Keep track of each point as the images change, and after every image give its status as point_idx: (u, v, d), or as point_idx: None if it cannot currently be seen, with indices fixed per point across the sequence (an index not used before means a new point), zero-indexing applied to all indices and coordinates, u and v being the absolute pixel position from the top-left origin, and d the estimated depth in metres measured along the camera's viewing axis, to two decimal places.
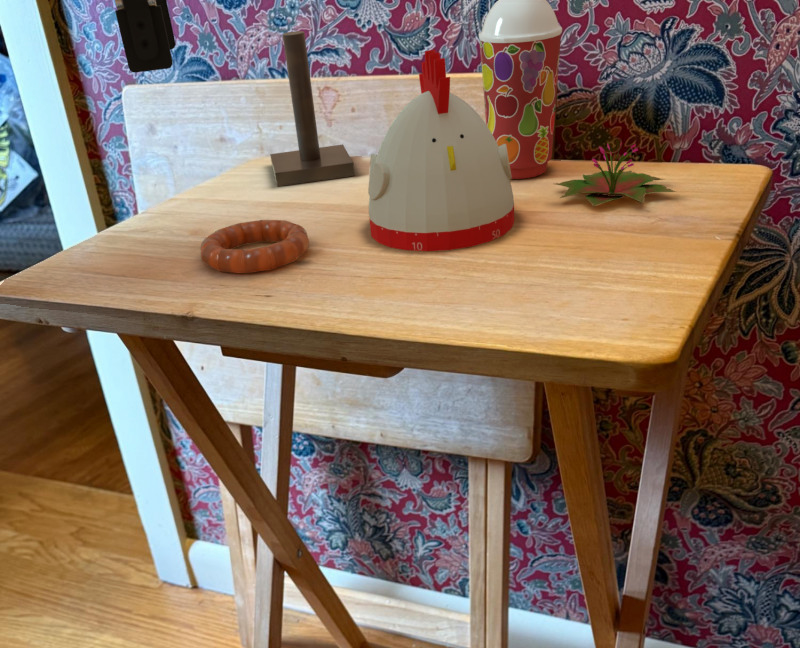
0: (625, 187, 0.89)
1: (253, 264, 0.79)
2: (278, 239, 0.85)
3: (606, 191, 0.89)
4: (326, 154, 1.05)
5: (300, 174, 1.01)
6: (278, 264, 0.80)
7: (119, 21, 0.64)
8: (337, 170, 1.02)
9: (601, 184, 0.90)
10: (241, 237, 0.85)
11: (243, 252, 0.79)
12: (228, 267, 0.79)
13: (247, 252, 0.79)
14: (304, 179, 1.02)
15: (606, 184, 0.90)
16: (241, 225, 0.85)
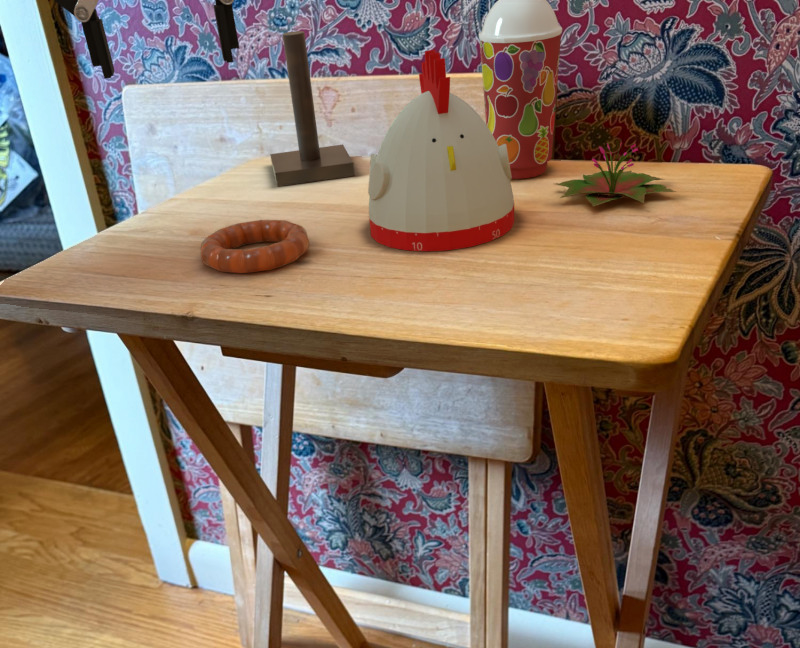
0: (625, 187, 0.89)
1: (253, 264, 0.79)
2: (278, 239, 0.85)
3: (606, 191, 0.89)
4: (326, 154, 1.05)
5: (300, 174, 1.01)
6: (278, 264, 0.80)
7: None
8: (337, 170, 1.02)
9: (601, 184, 0.90)
10: (241, 237, 0.85)
11: (243, 252, 0.79)
12: (228, 267, 0.79)
13: (247, 252, 0.79)
14: (304, 179, 1.02)
15: (606, 184, 0.90)
16: (241, 225, 0.85)
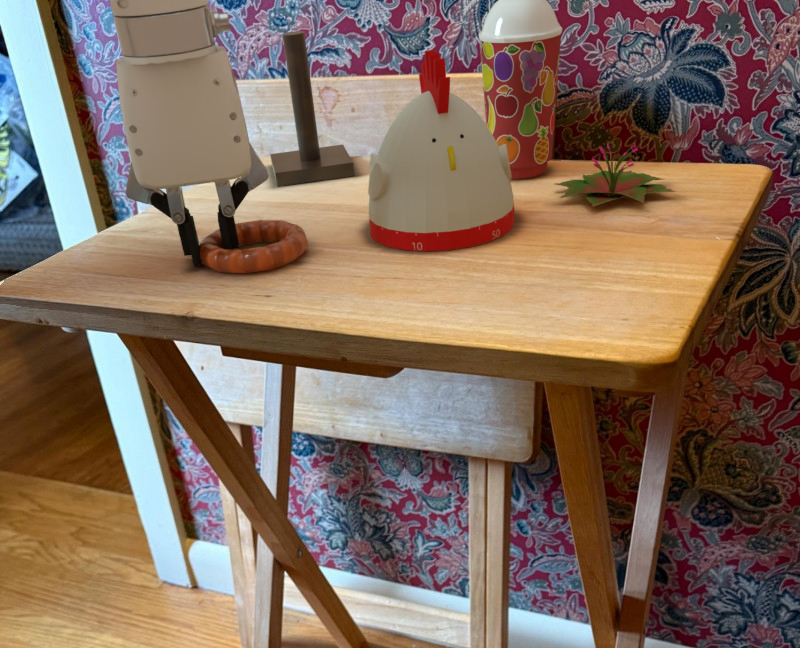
0: (625, 187, 0.89)
1: (251, 264, 0.79)
2: (277, 239, 0.85)
3: (606, 191, 0.89)
4: (326, 154, 1.05)
5: (300, 174, 1.01)
6: (276, 264, 0.80)
7: None
8: (337, 170, 1.02)
9: (601, 184, 0.90)
10: (239, 237, 0.85)
11: (241, 252, 0.79)
12: (226, 267, 0.79)
13: (245, 252, 0.79)
14: (304, 179, 1.02)
15: (606, 184, 0.90)
16: (240, 225, 0.85)
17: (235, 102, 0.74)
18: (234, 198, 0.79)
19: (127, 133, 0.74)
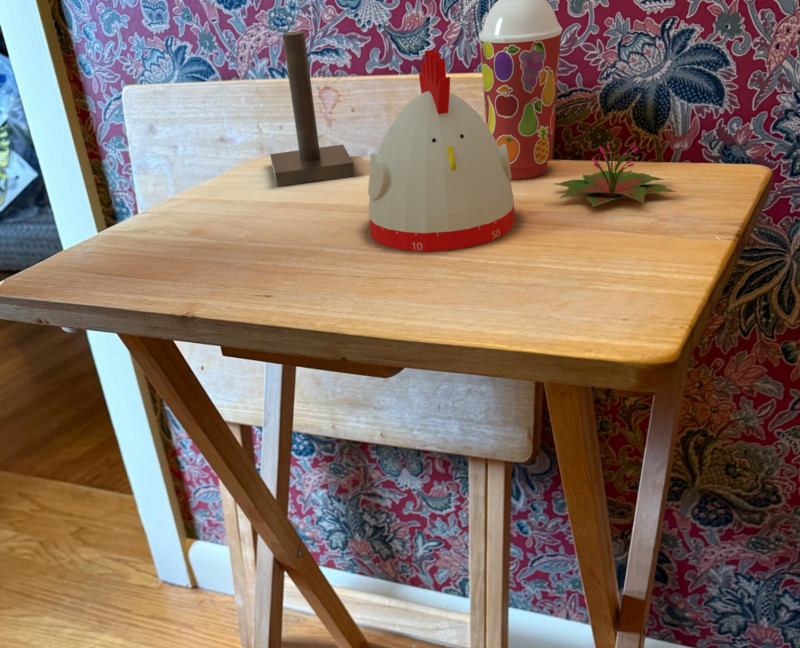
0: (625, 187, 0.89)
1: None
2: None
3: (606, 191, 0.89)
4: (326, 154, 1.05)
5: (300, 174, 1.01)
6: None
7: None
8: (337, 170, 1.02)
9: (601, 184, 0.90)
10: None
11: None
12: None
13: None
14: (304, 179, 1.02)
15: (606, 184, 0.90)
16: None
17: None
18: None
19: None
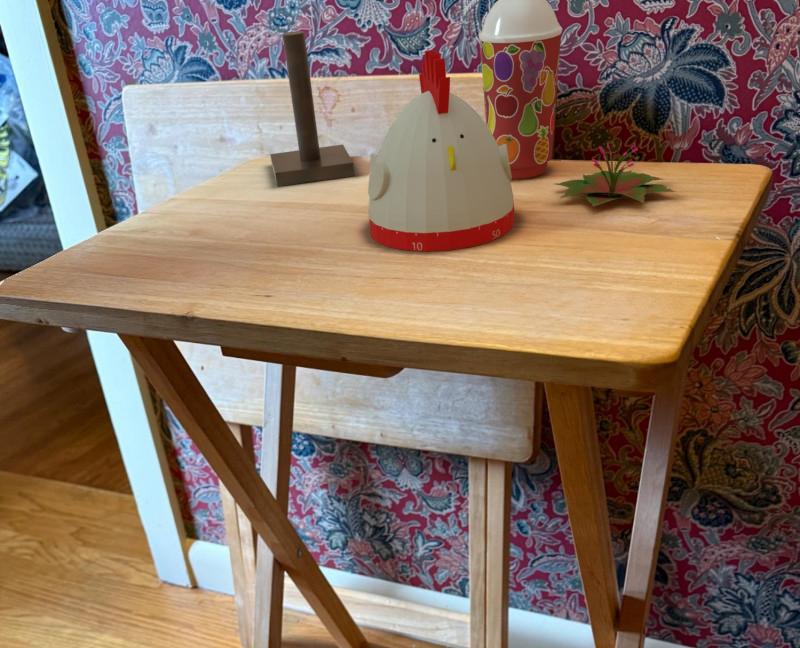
0: (625, 187, 0.89)
1: None
2: None
3: (606, 191, 0.89)
4: (326, 154, 1.05)
5: (300, 174, 1.01)
6: None
7: None
8: (337, 170, 1.02)
9: (601, 184, 0.90)
10: None
11: None
12: None
13: None
14: (304, 179, 1.02)
15: (606, 184, 0.90)
16: None
17: None
18: None
19: None
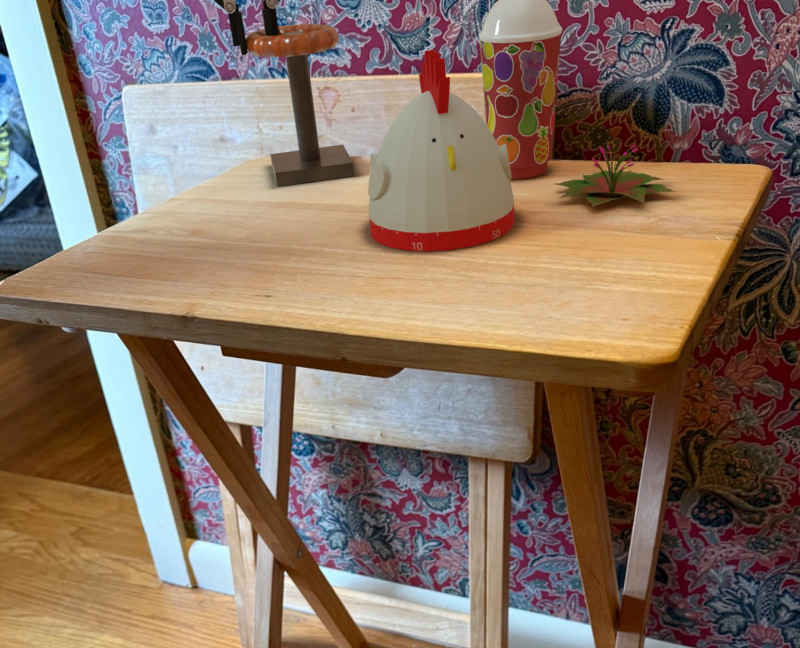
0: (625, 187, 0.89)
1: (292, 47, 0.93)
2: None
3: (606, 191, 0.89)
4: (326, 154, 1.05)
5: (300, 174, 1.01)
6: (313, 49, 0.94)
7: None
8: (337, 170, 1.02)
9: (601, 184, 0.90)
10: None
11: (284, 36, 0.93)
12: (271, 50, 0.94)
13: (287, 36, 0.93)
14: (304, 179, 1.02)
15: (606, 184, 0.90)
16: (279, 27, 0.99)
17: None
18: None
19: None
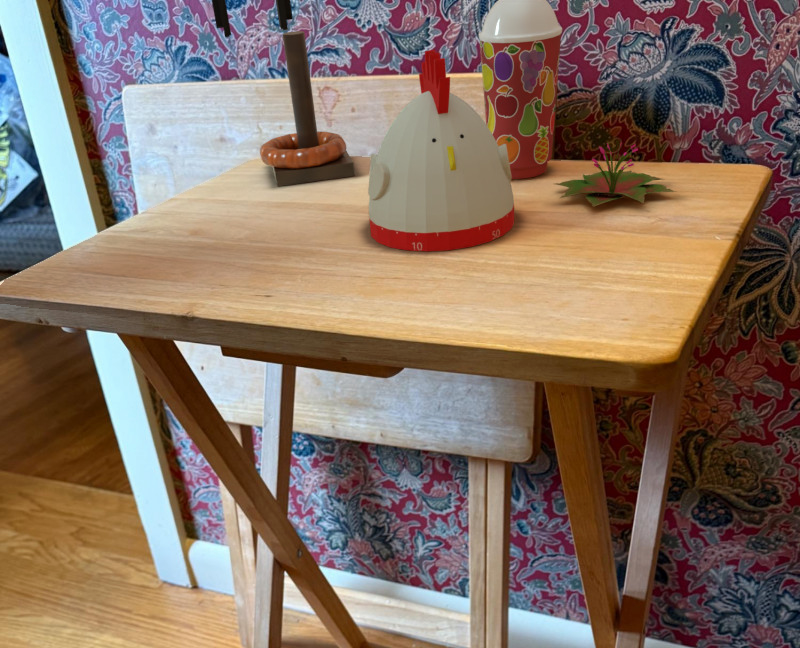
0: (625, 187, 0.89)
1: (304, 160, 1.00)
2: None
3: (606, 191, 0.89)
4: None
5: (300, 174, 1.01)
6: (323, 161, 1.01)
7: None
8: (337, 170, 1.02)
9: (601, 184, 0.90)
10: (291, 144, 1.06)
11: (296, 151, 1.00)
12: (284, 163, 1.01)
13: (299, 151, 1.00)
14: (304, 179, 1.02)
15: (606, 184, 0.90)
16: (290, 135, 1.06)
17: None
18: None
19: None
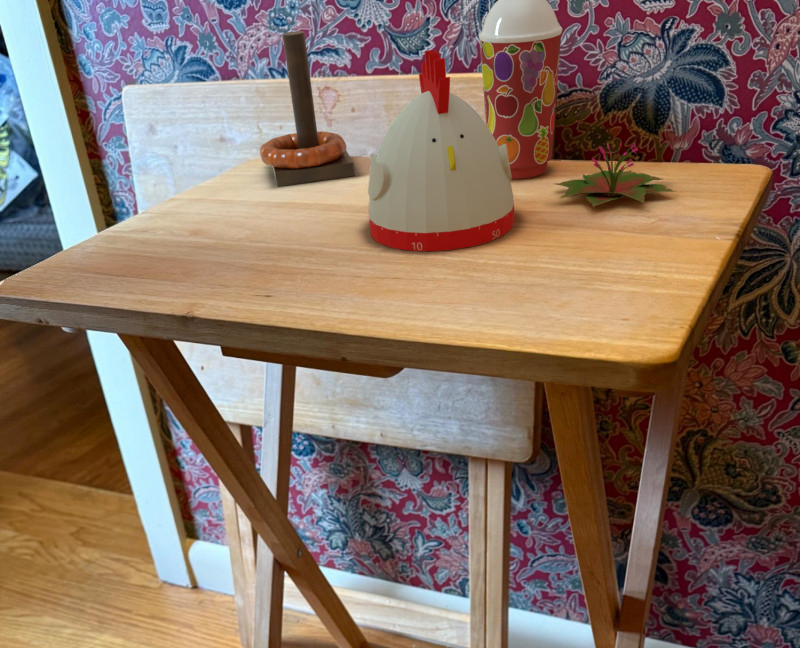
0: (625, 187, 0.89)
1: (304, 160, 1.00)
2: None
3: (606, 191, 0.89)
4: None
5: (300, 174, 1.01)
6: (323, 161, 1.01)
7: None
8: (337, 170, 1.02)
9: (601, 184, 0.90)
10: (291, 144, 1.06)
11: (296, 151, 1.00)
12: (284, 163, 1.01)
13: (299, 151, 1.00)
14: (304, 179, 1.02)
15: (606, 184, 0.90)
16: (290, 135, 1.06)
17: None
18: None
19: None
